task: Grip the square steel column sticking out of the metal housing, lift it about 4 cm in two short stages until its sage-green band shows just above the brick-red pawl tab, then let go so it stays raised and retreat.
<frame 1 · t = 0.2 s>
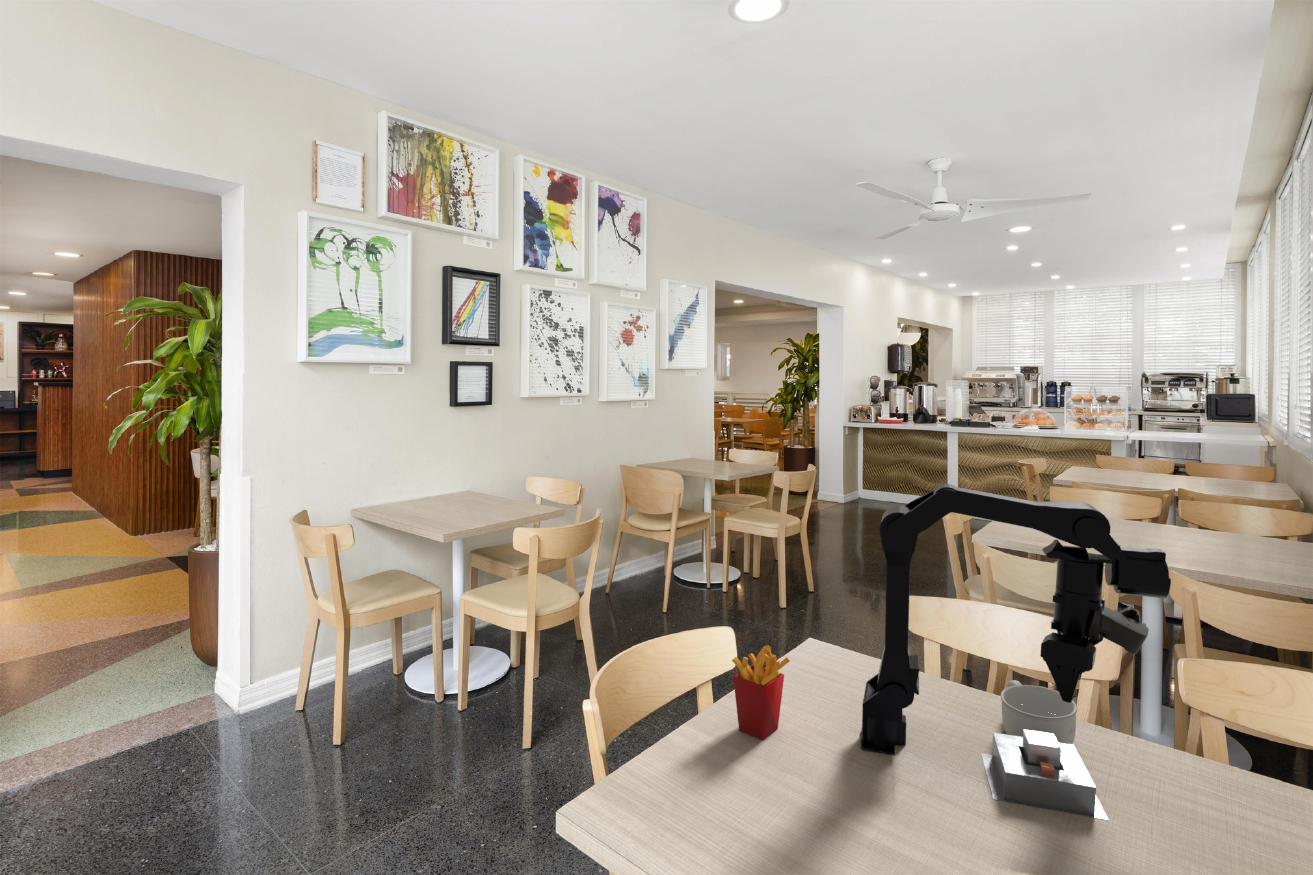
hand: (1071, 689, 98), 14 cm above the table, tool pointing down, fingers open, 9 cm apart
housing: (1039, 790, 96), on the table
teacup: (1032, 740, 109), on the table
column: (1040, 761, 96), point 4 cm above the table, slide at 0.0 cm, touching housing
french fries: (765, 731, 113), on the table
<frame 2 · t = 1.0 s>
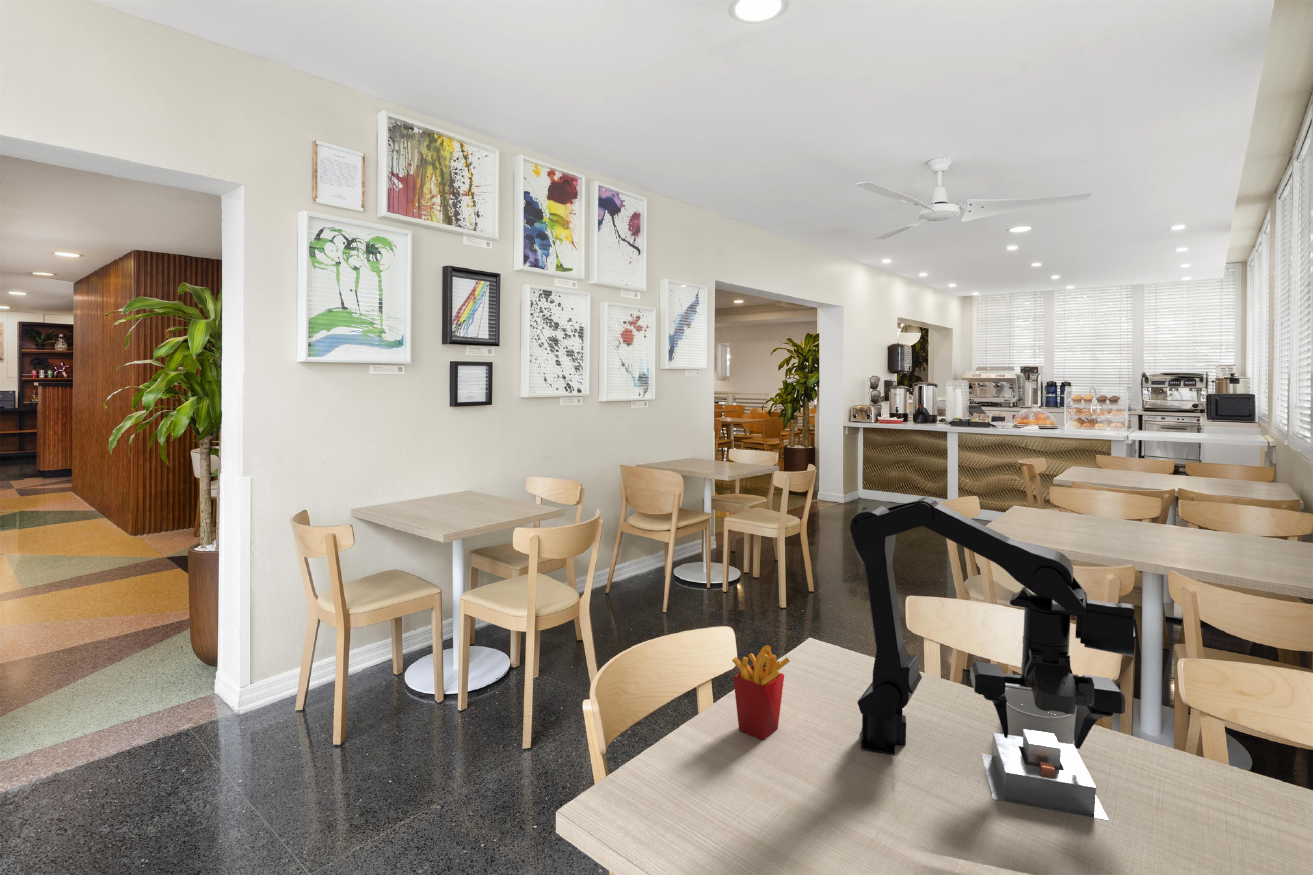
hand: (1040, 741, 95), 7 cm above the table, tool pointing down, fingers open, 9 cm apart
nothing on the table moved.
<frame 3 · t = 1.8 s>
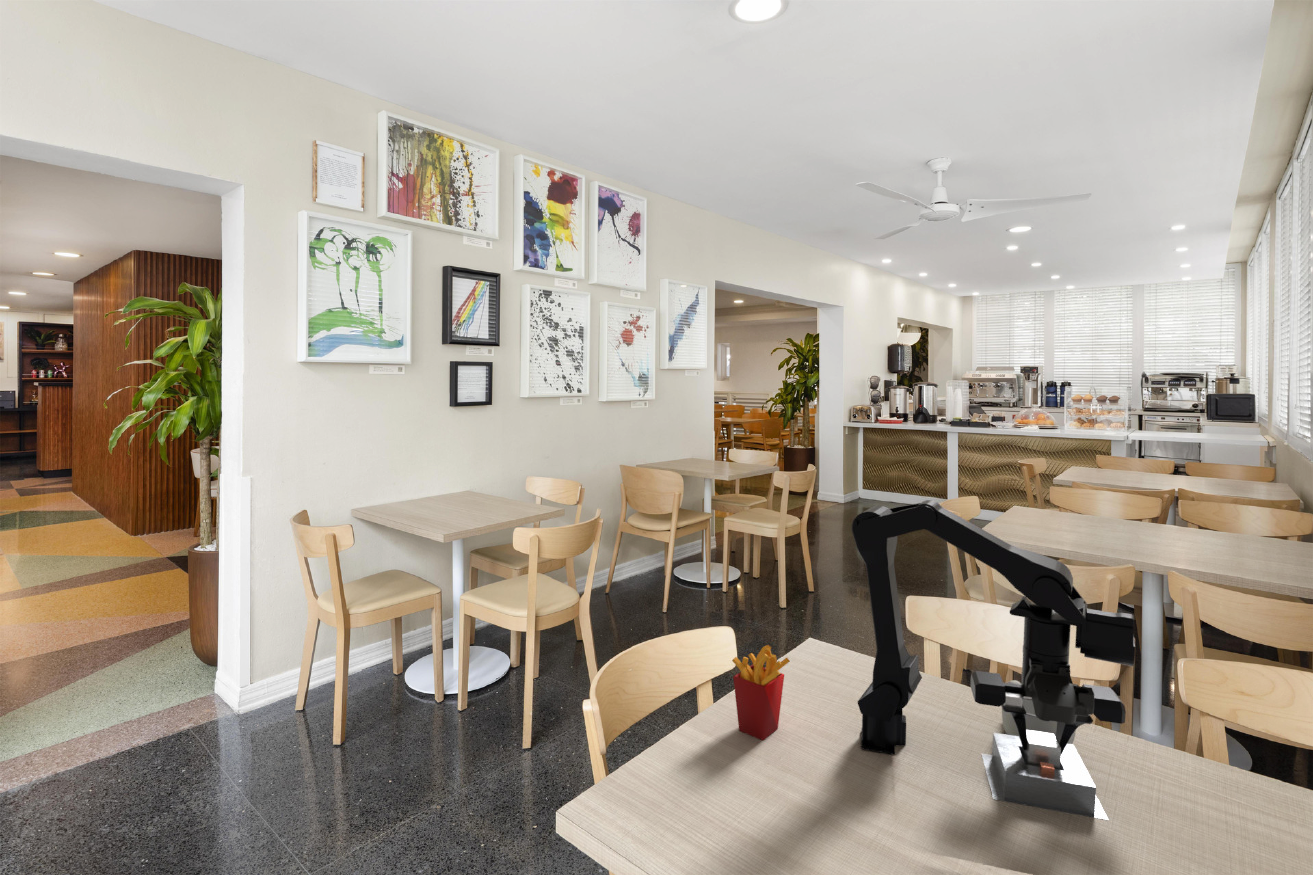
hand: (1041, 751, 95), 6 cm above the table, tool pointing down, fingers closed on column, 4 cm apart
column: (1040, 761, 96), point 4 cm above the table, slide at 0.0 cm, touching gripper, housing
everything else where it was.
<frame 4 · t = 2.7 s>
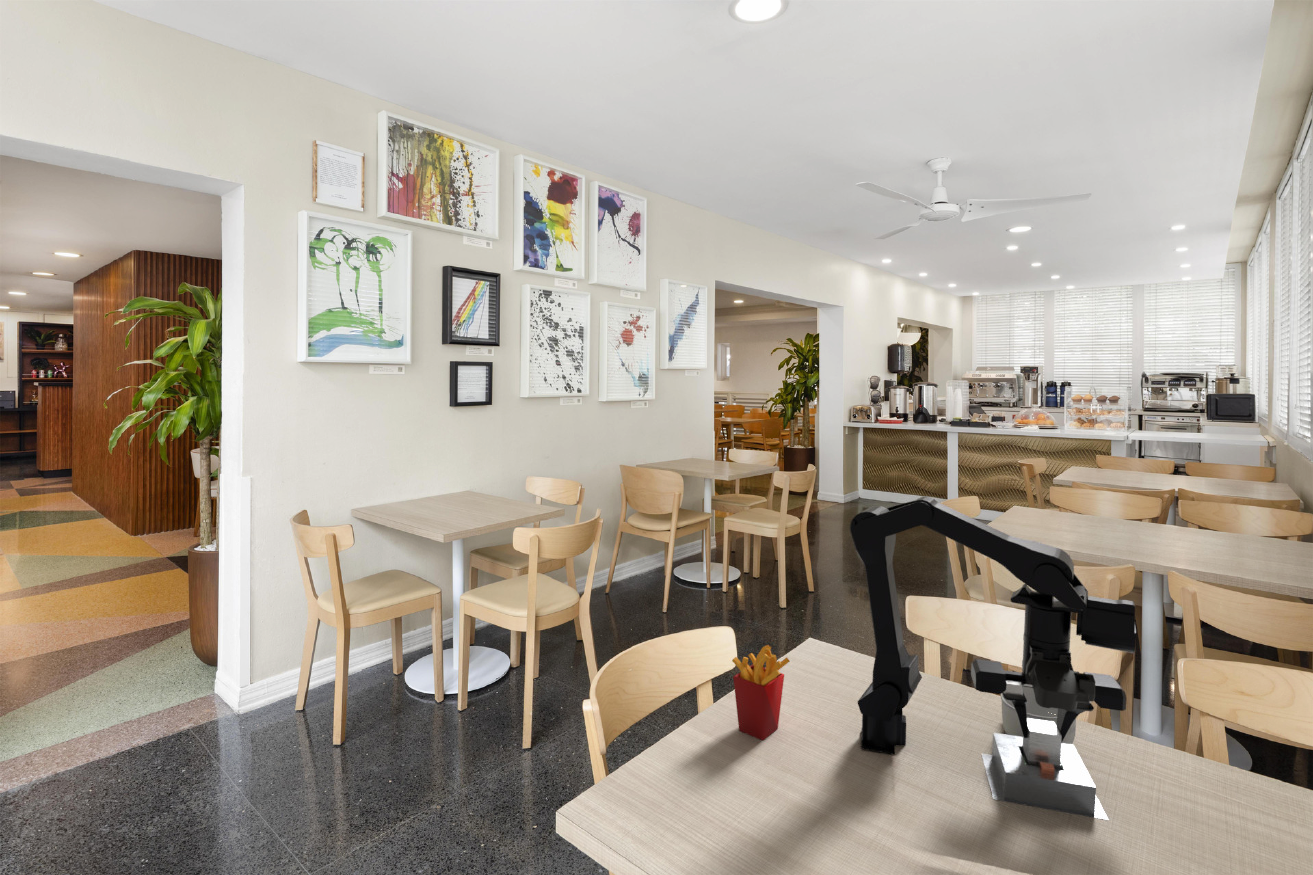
hand: (1041, 739, 95), 8 cm above the table, tool pointing down, fingers closed on column, 4 cm apart
column: (1041, 749, 95), point 6 cm above the table, slide at 1.8 cm, touching gripper
everything else where it was.
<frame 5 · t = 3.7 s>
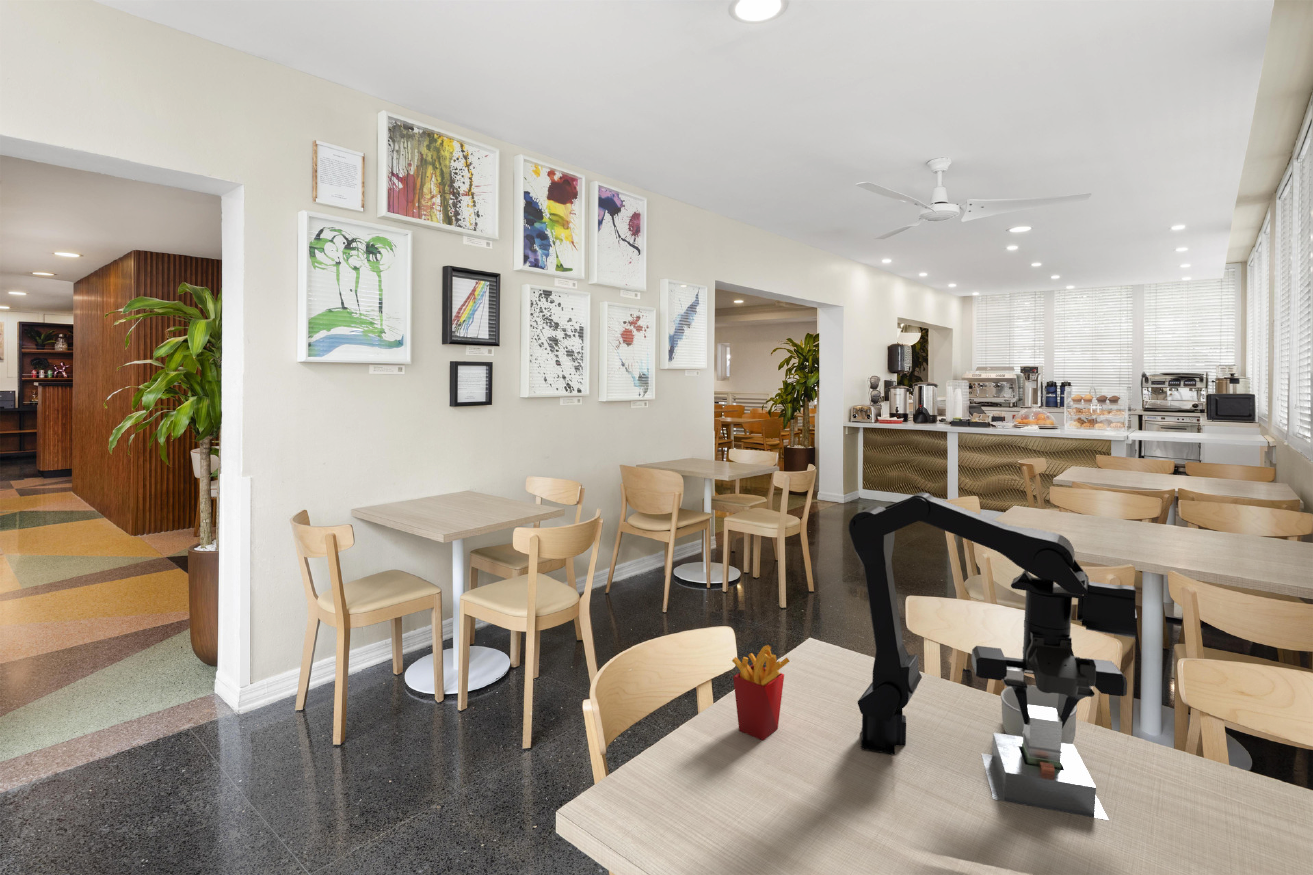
hand: (1042, 725, 95), 10 cm above the table, tool pointing down, fingers closed on column, 4 cm apart
column: (1041, 735, 95), point 8 cm above the table, slide at 3.9 cm, touching gripper
everything else where it was.
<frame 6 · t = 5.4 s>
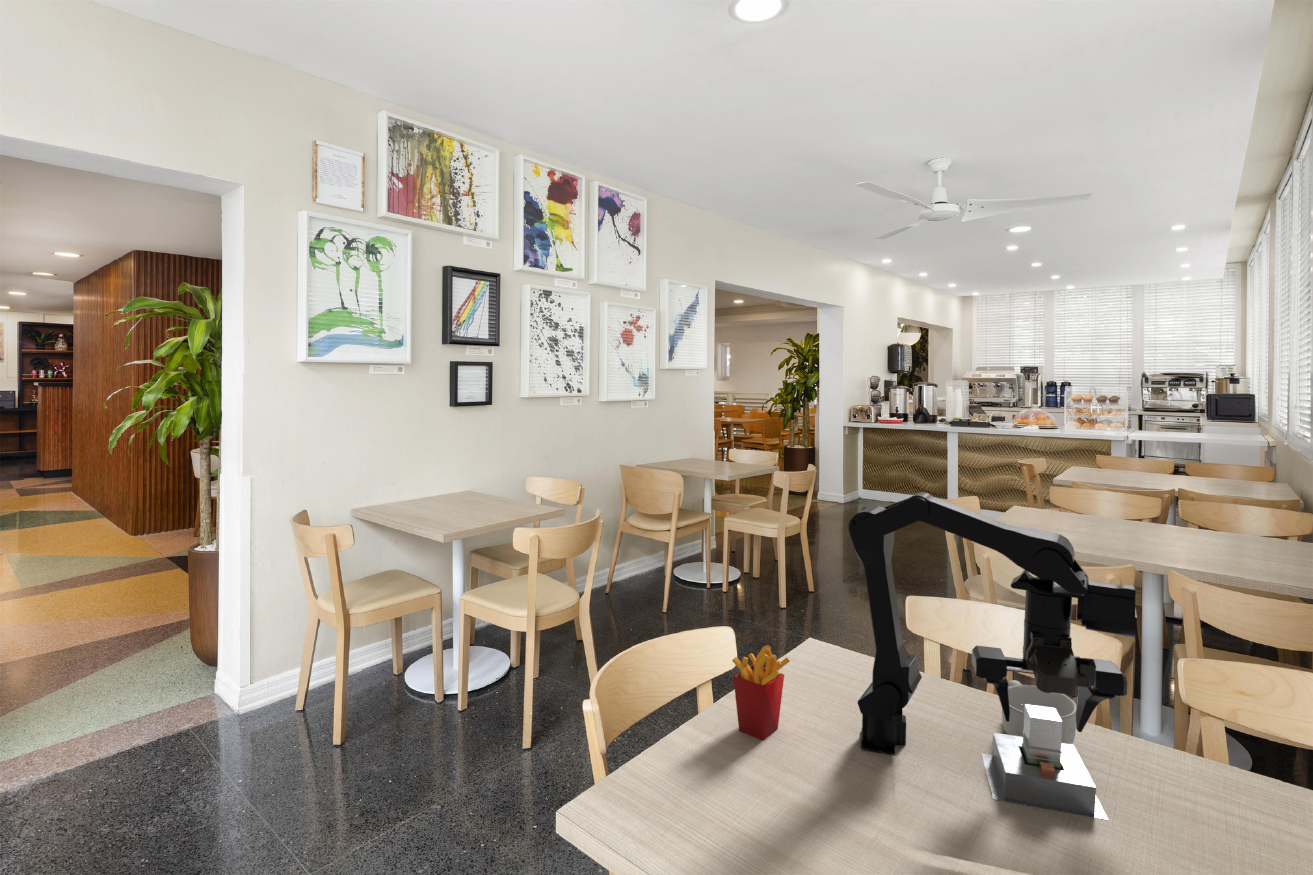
hand: (1042, 725, 95), 10 cm above the table, tool pointing down, fingers open, 9 cm apart
column: (1041, 735, 95), point 8 cm above the table, slide at 4.0 cm
everything else where it was.
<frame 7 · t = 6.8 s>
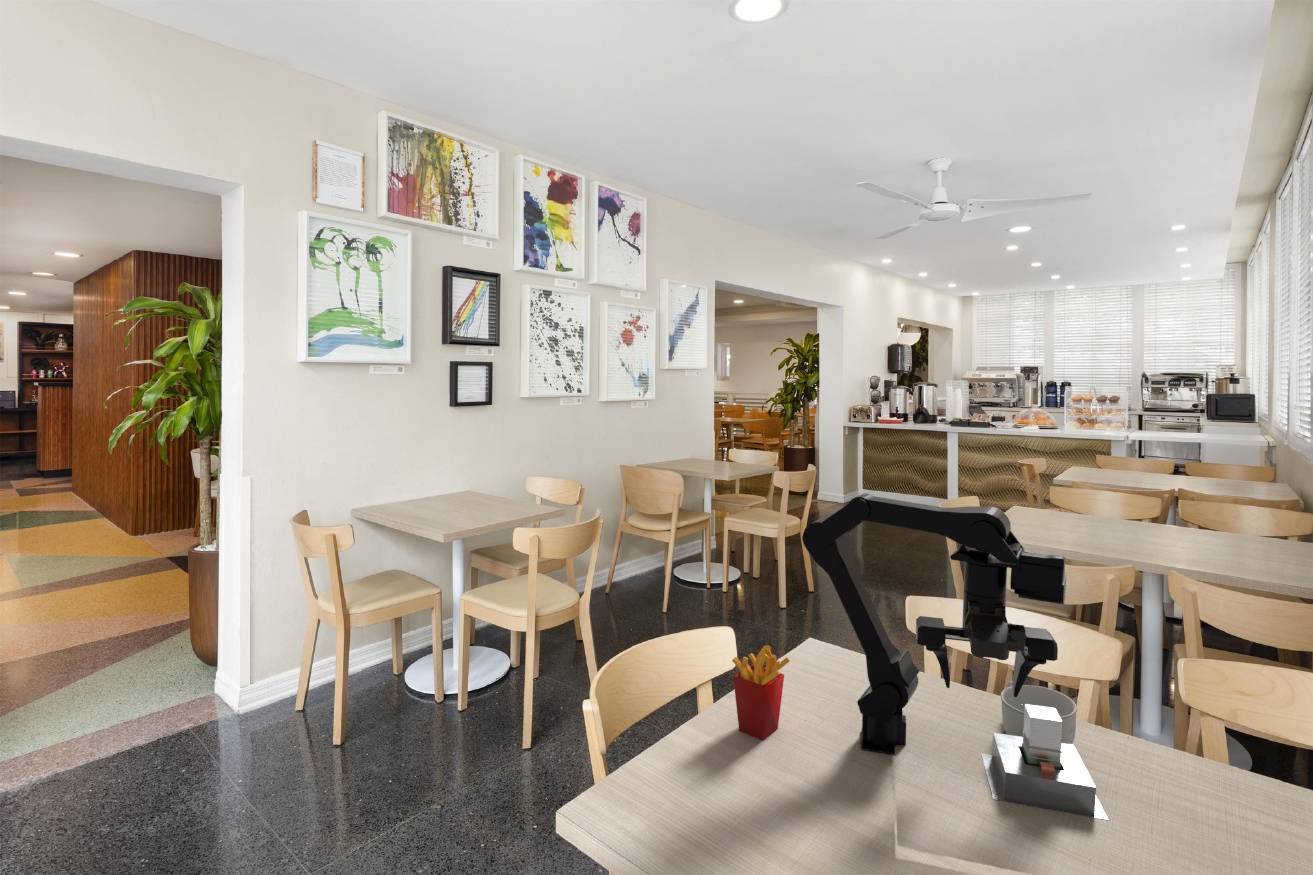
hand: (980, 691, 99), 13 cm above the table, tool pointing down, fingers open, 9 cm apart
nothing on the table moved.
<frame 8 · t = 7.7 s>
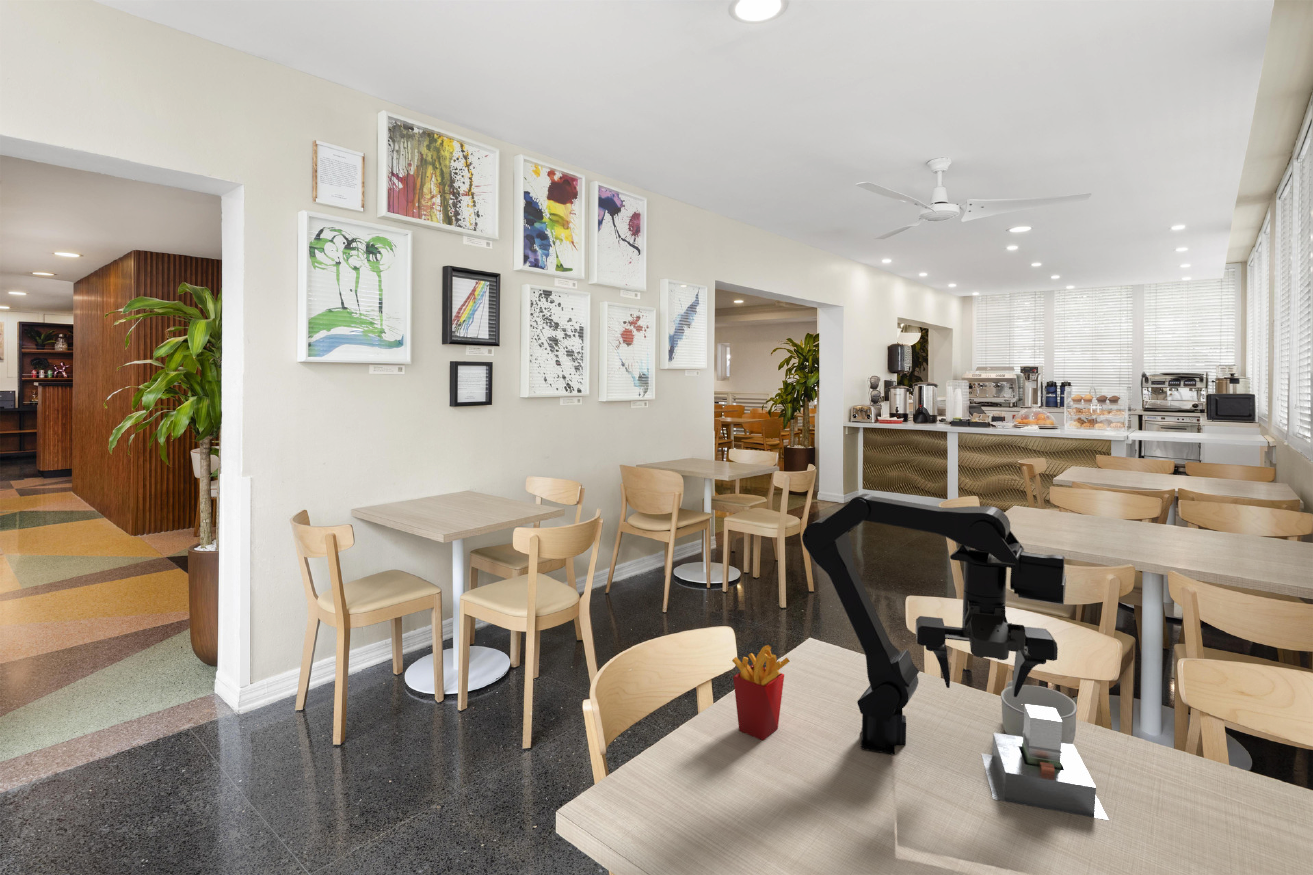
hand: (980, 691, 99), 13 cm above the table, tool pointing down, fingers open, 9 cm apart
nothing on the table moved.
at the end: column slide at 4.0 cm; the gripper is holding nothing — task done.
